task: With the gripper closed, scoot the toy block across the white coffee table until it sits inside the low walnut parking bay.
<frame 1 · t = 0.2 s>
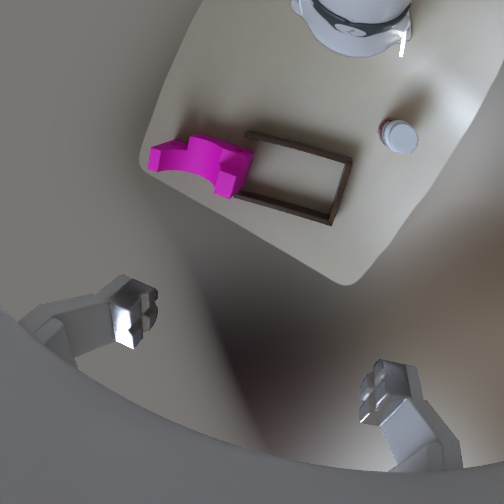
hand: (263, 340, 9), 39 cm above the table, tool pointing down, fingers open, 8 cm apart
pill bottle: (391, 132, 37), on the table
bay: (292, 175, 45), on the table
toy block: (210, 154, 47), on the table
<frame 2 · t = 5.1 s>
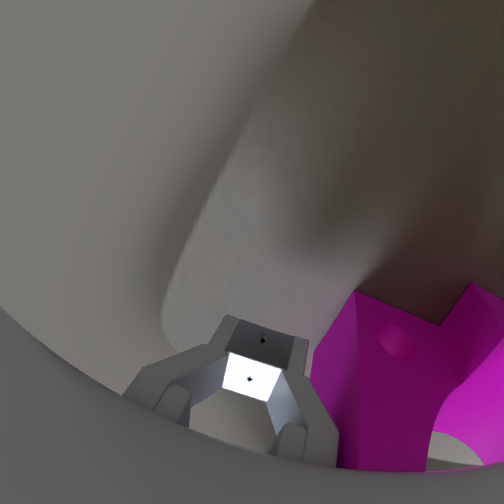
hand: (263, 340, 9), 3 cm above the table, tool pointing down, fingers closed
toy block: (466, 348, 10), on the table, touching gripper
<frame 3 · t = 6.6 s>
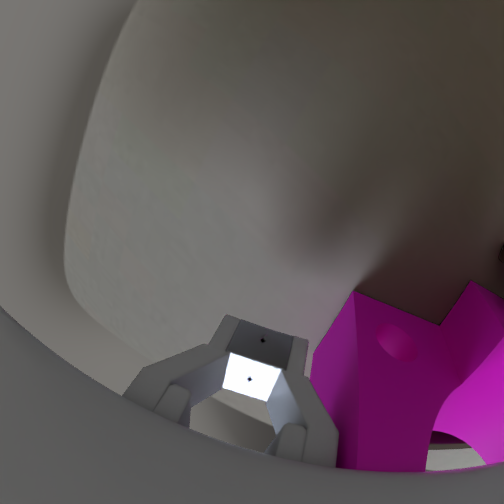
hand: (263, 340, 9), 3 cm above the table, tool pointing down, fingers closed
toy block: (467, 347, 10), on the table, touching gripper
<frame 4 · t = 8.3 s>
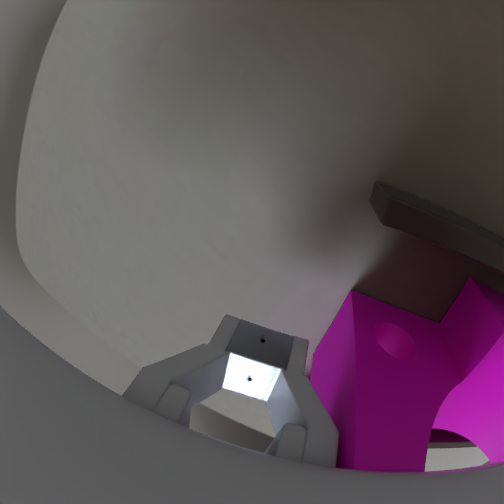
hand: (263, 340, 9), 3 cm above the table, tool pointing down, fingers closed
bay: (472, 351, 10), on the table
toy block: (468, 344, 10), on the table, touching gripper
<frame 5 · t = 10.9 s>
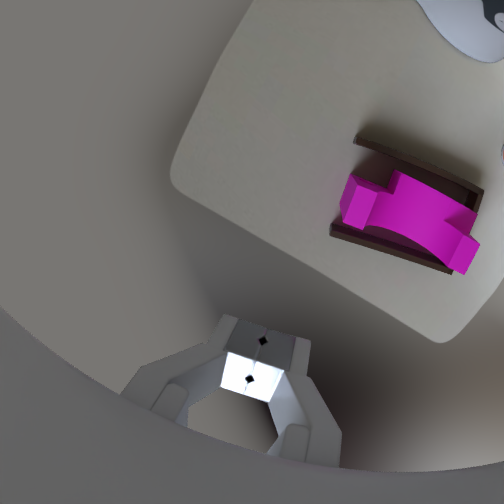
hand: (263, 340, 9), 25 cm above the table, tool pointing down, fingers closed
bay: (408, 205, 29), on the table
toy block: (404, 202, 29), on the table
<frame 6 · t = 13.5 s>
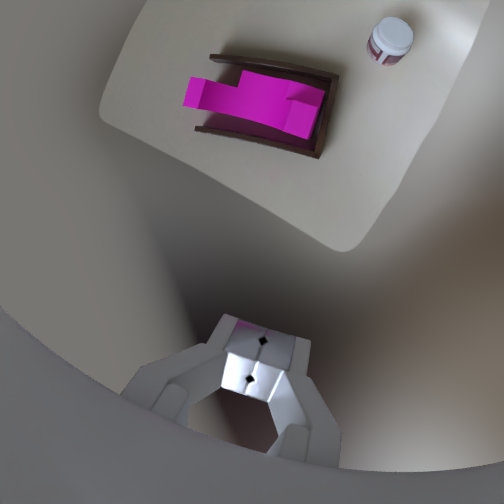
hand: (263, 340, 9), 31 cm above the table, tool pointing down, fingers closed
pill bottle: (383, 51, 27), on the table
bay: (266, 102, 34), on the table
toy block: (264, 100, 34), on the table
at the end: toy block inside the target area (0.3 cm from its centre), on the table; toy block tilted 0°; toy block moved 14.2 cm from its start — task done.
